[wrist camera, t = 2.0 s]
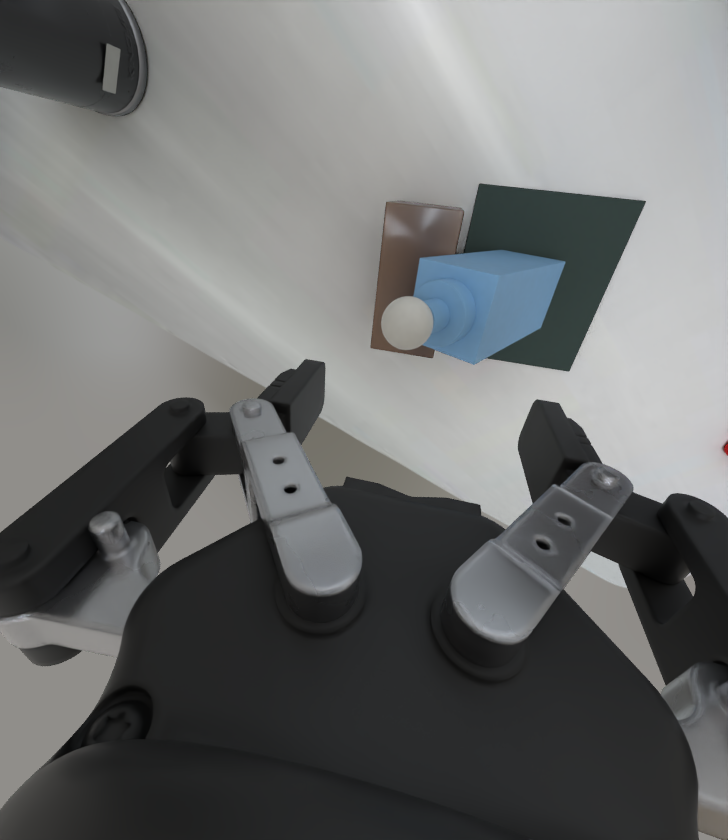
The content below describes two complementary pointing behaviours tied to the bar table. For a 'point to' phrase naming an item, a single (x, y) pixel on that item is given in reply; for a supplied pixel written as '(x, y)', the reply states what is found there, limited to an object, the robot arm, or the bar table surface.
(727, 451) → the popsicle
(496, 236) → the mat
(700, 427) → the bar table surface
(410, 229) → the block
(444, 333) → the bottle
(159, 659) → the robot arm
